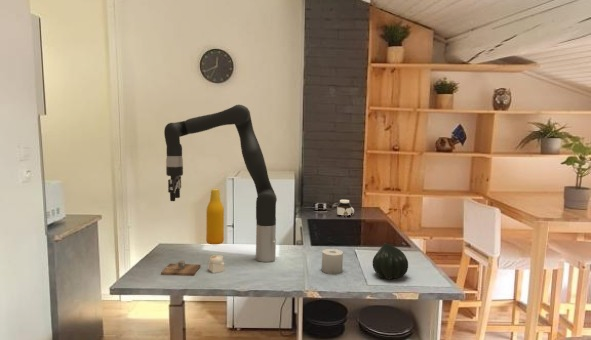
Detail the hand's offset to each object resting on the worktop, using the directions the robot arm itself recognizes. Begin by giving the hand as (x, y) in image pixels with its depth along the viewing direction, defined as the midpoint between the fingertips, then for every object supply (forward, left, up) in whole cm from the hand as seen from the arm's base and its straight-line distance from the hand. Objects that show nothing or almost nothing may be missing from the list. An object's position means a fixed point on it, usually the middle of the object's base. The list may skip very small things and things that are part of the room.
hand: (175, 199), depth 195 cm
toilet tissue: (-74, +10, -28) cm, 80 cm away
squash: (-99, +16, -28) cm, 104 cm away
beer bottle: (-13, -26, -28) cm, 41 cm away
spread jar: (-91, -102, -28) cm, 140 cm away
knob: (-23, +16, -28) cm, 40 cm away
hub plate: (-8, +18, -28) cm, 34 cm away
